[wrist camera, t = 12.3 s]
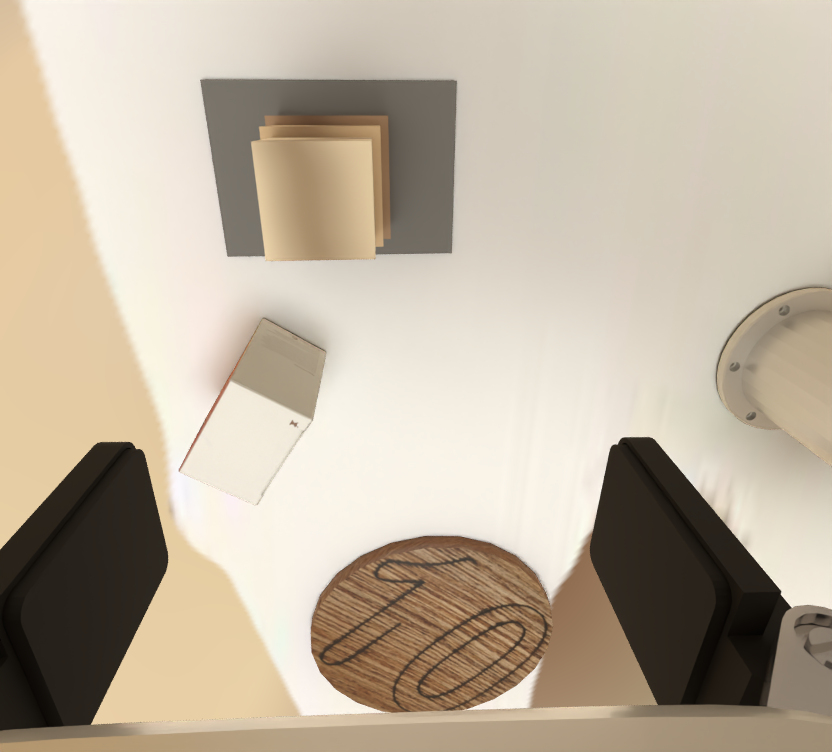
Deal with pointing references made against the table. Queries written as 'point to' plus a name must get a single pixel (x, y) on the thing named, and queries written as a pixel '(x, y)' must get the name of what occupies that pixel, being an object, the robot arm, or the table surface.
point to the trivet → (430, 625)
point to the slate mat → (399, 100)
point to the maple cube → (316, 197)
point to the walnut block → (352, 121)
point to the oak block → (341, 132)
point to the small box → (258, 414)
